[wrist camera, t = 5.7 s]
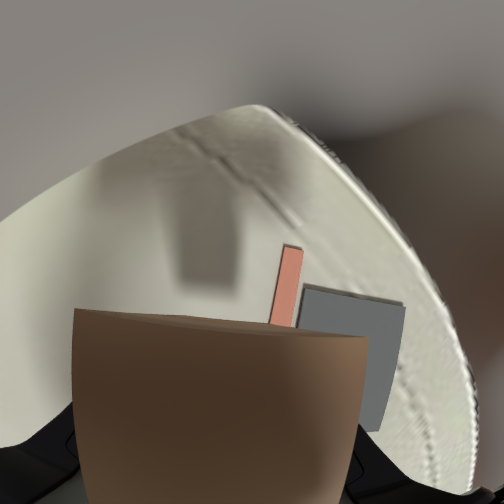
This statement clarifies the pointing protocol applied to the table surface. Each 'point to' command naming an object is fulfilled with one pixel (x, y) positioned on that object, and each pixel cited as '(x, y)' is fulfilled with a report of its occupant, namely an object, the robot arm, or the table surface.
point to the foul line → (287, 287)
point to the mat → (366, 325)
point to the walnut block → (213, 409)
